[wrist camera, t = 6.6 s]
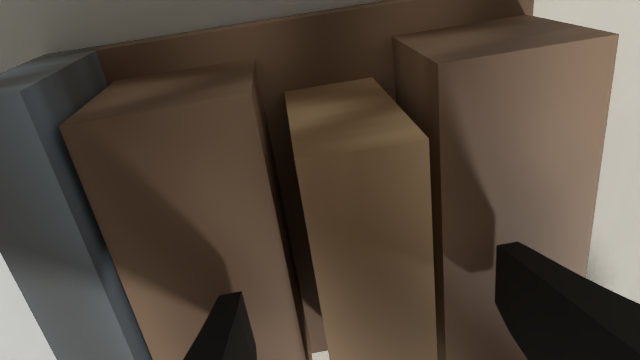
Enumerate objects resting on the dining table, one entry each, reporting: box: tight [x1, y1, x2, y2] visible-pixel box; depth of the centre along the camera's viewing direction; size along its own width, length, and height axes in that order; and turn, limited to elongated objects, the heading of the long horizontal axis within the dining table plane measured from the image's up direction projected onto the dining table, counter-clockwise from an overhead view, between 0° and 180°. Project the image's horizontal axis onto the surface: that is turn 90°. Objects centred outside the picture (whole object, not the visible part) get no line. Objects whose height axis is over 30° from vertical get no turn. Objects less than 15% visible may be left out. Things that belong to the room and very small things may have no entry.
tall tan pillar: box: [284, 77, 437, 360], centre depth 15 cm, size 3×10×6 cm, turn 8°
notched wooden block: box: [0, 0, 619, 360], centre depth 16 cm, size 16×14×6 cm
